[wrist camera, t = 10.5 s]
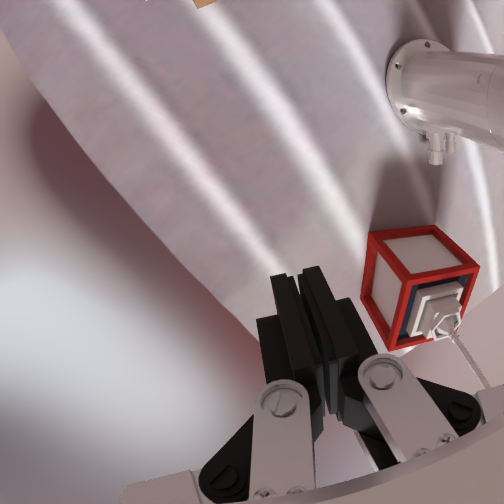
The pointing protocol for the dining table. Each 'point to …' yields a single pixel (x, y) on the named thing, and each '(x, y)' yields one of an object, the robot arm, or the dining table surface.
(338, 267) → the dining table surface
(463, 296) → the pendant light
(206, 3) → the voxel meat on bone
